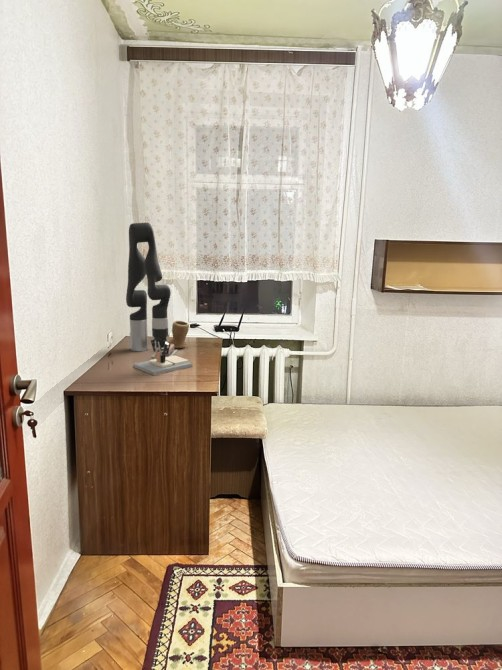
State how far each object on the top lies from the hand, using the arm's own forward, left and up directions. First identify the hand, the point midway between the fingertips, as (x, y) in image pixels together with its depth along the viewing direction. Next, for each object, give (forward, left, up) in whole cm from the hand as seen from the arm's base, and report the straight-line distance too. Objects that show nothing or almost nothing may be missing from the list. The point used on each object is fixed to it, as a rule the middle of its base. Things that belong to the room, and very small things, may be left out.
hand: (160, 361), depth 214 cm
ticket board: (0, +2, -3) cm, 3 cm away
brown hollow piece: (-29, +31, -3) cm, 43 cm away
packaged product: (-19, +15, -3) cm, 24 cm away
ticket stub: (0, 0, -1) cm, 1 cm away
